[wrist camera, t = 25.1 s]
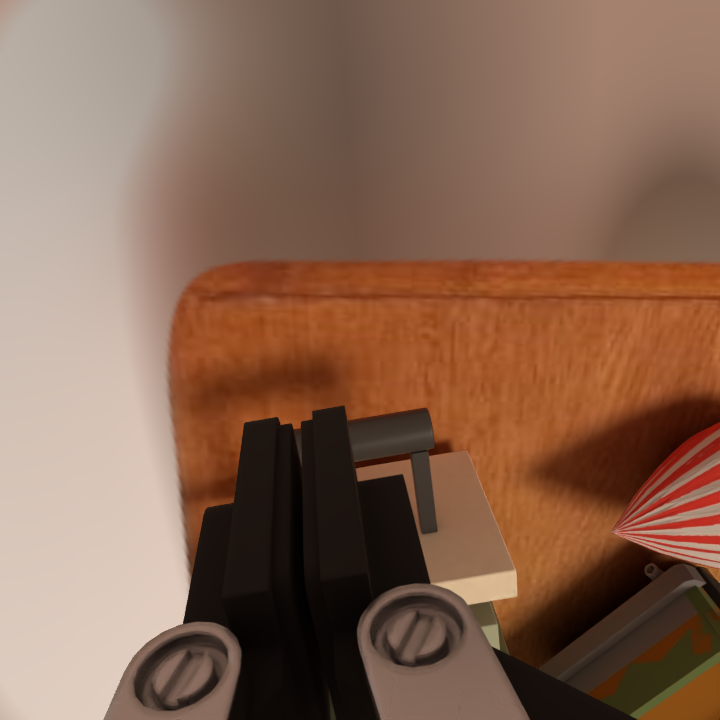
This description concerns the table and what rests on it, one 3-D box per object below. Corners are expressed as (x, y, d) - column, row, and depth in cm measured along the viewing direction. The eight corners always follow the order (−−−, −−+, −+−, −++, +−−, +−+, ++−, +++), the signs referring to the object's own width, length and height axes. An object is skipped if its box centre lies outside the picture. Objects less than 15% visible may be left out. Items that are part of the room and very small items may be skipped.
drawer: (207, 385, 27) (177, 500, 20) (458, 344, 27) (509, 445, 20) (291, 689, 34) (289, 844, 28) (486, 656, 34) (530, 803, 28)
